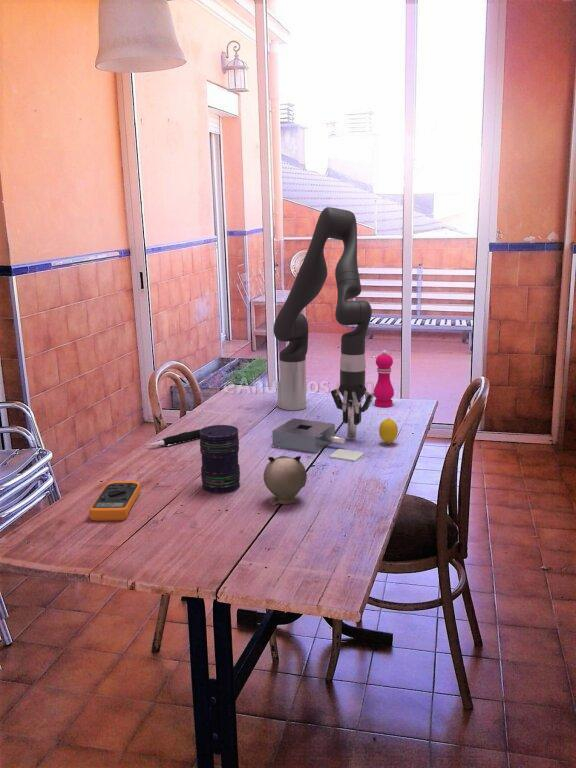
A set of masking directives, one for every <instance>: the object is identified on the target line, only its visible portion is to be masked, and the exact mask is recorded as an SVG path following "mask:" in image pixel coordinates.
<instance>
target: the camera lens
mask: <svg viewBox="0 0 576 768" xmlns="http://www.w3.org/2000/svg"><path fill="white" fill-rule="evenodd" d="M200 429H201V430H200V438H199V451H200V455H201V468H200V472H201V473H200V474H201V475H200V478H201V483H202V484H201V489H202V490H203V491H204V492H206V493H209V494H215V495H223V494H224V495H225V494H229V493H233V492H236V491H237V490H239V489H240V487H241V483H240V480H241V466H240V464H239V451H240V439H239V428H238V427H236V426H233V425H229V424H215V425H209V426H205V427H202V428H200ZM238 488H239V489H238ZM235 490H236V491H235Z"/></svg>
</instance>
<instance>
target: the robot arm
mask: <svg viewBox="0 0 576 768" xmlns="http://www.w3.org/2000/svg"><path fill="white" fill-rule="evenodd" d="M355 215H356V214H355V213H354V212H353V211H351V210H348V209H347V210H346V209H342V208H337V207H332V206H331V207H330V206H327V207H325V208H324V209H322V210H321V212H320V214H319V216H318V218H317V221H316V224H315V228H314V231H313V234H312V237H311V240H310V243H309V246H308V248H307V250H306V253H305V256H304V259H303V261H302V263H301V265H300V267H299V270H298V272H297V274H296V276H295V279H294V282H293V285H292V287H291V289H290V291H289V293H288V296H287V298H286V299H285V302H284V303H283V305H282V307H281V309H280V310H279V313H278V314H277V316H276V318H275V321H274V323H273V335H274V338H276V340H278V341H279V342H286V343H287V342H288V344H287V345H286V347H284V348H283V349H282V350H281V351H280V352H279V354H278V355H279V356H278V358H279V361H278V362H279V363H278V364H279V365H278V366H279V380H277V407H279V408H280V409H282V410H286V411H300V410H304V409H306V408H307V363H306V362H307V360H306V358H307V357H306V356H307V353H308V351H309V350H308V348H309V344H308V343H309V322H308V319H307V318H306V316H305V315H304V314H303V313H302V311H303V310H304V309H305V308H306V307H308V305H309V304H310V303H312V301H314V300H315V299H316V298H317V297H318V295H319V294H320V292H321V291H322V290H323V287H324V284H325V282H326V280H327V277H328V266H327V263H326V262H327V261H326V257H325V253H324V252H325V251H324V250H325V245H326V243H327V241H328V239H332V240H338V241H342V243H343V252H342V254H341V255H340V257H339V259H338V262H337V263H336V267H335V273H334V274H335V275H334V277H335V284H336V290H337V300H336V301H337V302H336V305H335V314H334V317H335V320H336V322H337V323H338V324H339V325H340V326H356V328H355V329H354V330H352V331H348V332H344V333H343V334H342V335H341V337H340V358H339V359H340V360H339V386H338V388H334V389H332V390H331V391H330V394H331V396H332V400H333V402H334V404H335V407H336V408H337V409H339V410H341V411H342V421H343V423H344V424H345V425H347V406H346V402H347V401H348V400H353V402H354V406H355V412H356V413H355V425H356V426H358V425H360V423H361V422H362V413H365V411H368V409H369V407H370V405H371V403H372V401H373V399H374V398H375V396H374V392H373V393H372V392H371V393H370V392H369V391H367V388H366V368H367V365H366V362H367V361H366V339H367V338H366V337H367V332H368V329H369V325H370V323H371V319H372V314H373V309H372V306H371V304H370V302H369V301H367V300H363V299H362V300H351V299H355V298H357V297H358V296H360V295H361V293H362V286H361V285H362V284H361V278H360V273H359V266H358V226H357V225H358V224H357V219H356V216H355ZM341 396H342V397H343V398H341ZM362 398H365V401H364V402H363V400H362ZM362 403H363V405H362Z"/></svg>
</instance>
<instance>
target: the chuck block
mask: <svg viewBox="0 0 576 768" xmlns="http://www.w3.org/2000/svg"><path fill="white" fill-rule="evenodd" d="M271 432H272V434H271V436H272V437H271V439H272V440H271V441H272V442H271V443H272V447H273V446H274V448H277V447H280V448H279V449H284V448H287V449H286V450H290V449H293V450H292V451H297V450H300V451H299V452H303V451H306V452H305V453H309V452H313V453H312V454H316V452H317V451H318V452H319V451H321V450H322V449H324V448H325V447H326V446H328V445H329V444H331V443H337V444H338V443H339V444H345V443H346V437H344V436H343V437H342V436H336V424H335V423H330V422H326V421H325V422H324V421H318V420H317V421H316V420H310V419H301V418H292V419H290V420H288V421H286V422H285V423H282V425H279V426H278V427H276V428H274V429H272V431H271ZM320 449H321V450H320ZM318 452H317V453H318Z"/></svg>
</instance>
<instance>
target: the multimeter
mask: <svg viewBox="0 0 576 768" xmlns="http://www.w3.org/2000/svg"><path fill="white" fill-rule="evenodd" d="M140 494H141V483H140V482H138V481H134V480H115V481H111V482H108V483H107V484H106V485H104V487H103V489H102V490H101V492H100V493H99V494H98V496H97V498H96V499H95V500H94V502H93V503H92V505H91V506H90V507H89V509H88V512H89V513H88V514H89V518H90V519H91V521H93V520H95V521H94V522H116V521H117V522H120V521H125V520H126V519H127V518H128V515H129V513H130V512H131V509H132V508H133V505H134V504H135V502H136V501H137V499H138V497H140Z"/></svg>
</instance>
